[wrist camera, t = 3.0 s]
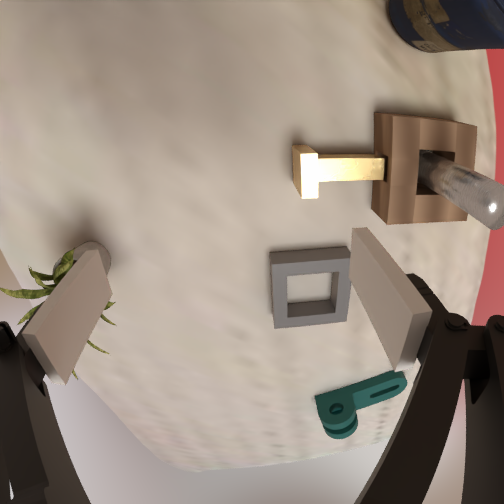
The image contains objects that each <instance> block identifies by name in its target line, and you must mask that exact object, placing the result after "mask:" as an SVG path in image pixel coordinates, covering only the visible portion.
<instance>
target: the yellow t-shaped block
mask: <svg viewBox="0 0 504 504" xmlns="http://www.w3.org/2000/svg"><path fill="white" fill-rule="evenodd" d="M292 158H293V183H294V185H295V187H296V189H297V191H298V192H299V194H300V196H301V198H302V199H303V198H318V181H346V180H383V179H384V158H382V157H380V156H378V155H376V154H324V155H318V153H316V152H315V151H314V150H312V149H311V148H310V147H309V146H307V145H292Z"/></svg>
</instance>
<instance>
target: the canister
mask: <svg viewBox="0 0 504 504" xmlns="http://www.w3.org/2000/svg"><path fill="white" fill-rule="evenodd" d="M389 13H390V17H391V20H392V23H393V25H394V27H395V28H396V30H397V31H398V33H399V34H400V35H401V37H402V38H403V39H404V40H405V41H406V42H408V43H409V44H410V45H412V46H413V47H415V48H417V49H419V50H421V51H425V52H429V53H437V52H446V51H458V50H475V49H504V0H390V1H389Z"/></svg>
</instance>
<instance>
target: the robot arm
mask: <svg viewBox="0 0 504 504" xmlns="http://www.w3.org/2000/svg"><path fill="white" fill-rule="evenodd" d="M349 279H350V281H351V283H352V284H353V286H354V288H355V290H356V292H357V294H358V296H359V298H360V300H361V302H362V304H363V306H364V308H365V310H366V312H367V314H368V316H369V318H370V320H371V322H372V324H373V326H374V328H375V331H376V333H377V335H378V337H379V339H380V341H381V343H382V345H383V347H384V350H385V352H386V354H387V356H388V358H389V361H390V363H391V365H392V367H393V369H394V372H398V371H403V370H407V369H411V368H413V366H414V363H415V361H416V358H418V360H419V362H420V364H421V366H420V369H419V371H418V373H417V376H416V378H415V380H414V383H413V384H414V385H413V387H412V390H411V392H410V395H409V397H408V400H407V402H406V405H405V407H404V409H403V412H402V414H401V416H400V419H399V421H398V423H397V425H396V427H395V430H394V432H393V434H392V436H391V438H390V440H389V442H388V444H387V446H386V448H385V450H384V452H383V454H382V456H381V458H380V460H379V462H378V464H377V465H376V467H375V469H374V471H373V473H372V475H371V476H370V478H369V480H368V481H367V483H366V485H365V487H364V489H363V490H362V492H361V493H360V495H359V497H358V498H357V500H356V501H355V503H354V504H422V502H423V500H424V498H425V496H426V493H427V491H428V489H429V486H430V484H431V481H432V479H433V477H434V474H435V472H436V469H437V466H438V463H439V461H440V458H441V455H442V452H443V449H444V446H445V443H446V440H447V437H448V434H449V431H450V427H451V424H452V420H453V417H454V413H455V409H456V405H457V401H458V397H459V393H460V389H461V384H462V380H463V379H464V382H465V399H466V457H465V473H464V484H463V493H462V502H461V504H504V316H501V315H493V316H491V317H490V318H489V319H488V321H487V324H486V326H473V325H470V324H469V322H468V321H467V320H466V319H465V318H464V317H463V316H461V315H458V314H455V313H449V312H448V311H447V310H446V308H445V307H444V306H443V304H442V303H441V302H440V300H439V299H438V298H437V297H436V295H435V294H433V291H432V290H431V289H430V288H429V286H428V285H427V284H426V283H425V282H424V280H423V279H421V278H420V277H418V276H417V275H415V274H414V273H412V274H405V273H404V272H403V271H402V269H401V268H400V267H399V266H398V264H397V263H396V262H395V261H394V259H393V258H392V257H391V256H390V254H389V253H388V252H387V251H386V249H385V248H384V247H383V246H382V245H381V243H380V242H379V241H378V240H377V239H376V237H375V236H374V235H373V234H372V233H371V231H370V230H369V229H368V228H367V227H364V228H352V242H351V256H350V267H349ZM112 294H113V293H112V291H111V288H110V285H109V282H108V279H107V276H106V273H105V270H104V267H103V264H102V261H101V257H100V254H99V251H98V250H88V251H85V253H84V254H83V255H82V256H81V257H80V258H79V260H78V261H77V262H76V263H75V264H74V265H73V267H72V268H71V269H70V270H69V271H68V273H67V274H66V275H65V276H64V278H63V279H62V280H61V281H60V283H59V284H58V285H57V286H56V288H55V289H54V290H53V291H52V293H51V294H50V295H49V296H48V298H47V299H46V300H45V301H44V302H43V303H42V304H40V305H39V306H38V307H37V309H36V310H35V311H34V313H33V315H31V317H30V318H29V321H27V322H26V323H25V325H24V326H23V328H22V329H21V330H20V332H19V333H18V335H17V336H16V337H15V335H14V333H13V331H12V330H11V328H10V326H9V324H8V323H7V322H5V321H3V322H0V504H91V503H90V501H89V499H88V497H87V495H86V493H85V491H84V489H83V487H82V485H81V482H80V480H79V478H78V476H77V473H76V471H75V468H74V466H73V464H72V461H71V459H70V456H69V454H68V451H67V448H66V446H65V443H64V440H63V438H62V435H61V432H60V429H59V426H58V423H57V420H56V417H55V414H54V410H53V407H52V404H51V400H50V396H49V393H48V389H47V386H46V384H45V382H44V381H43V378H44V376H45V374H46V375H47V376H48V377H49V379H50V380H51V382H52V383H55V384H62V385H66V384H67V382H68V379H69V377H70V375H71V373H72V371H73V369H74V367H75V365H76V363H77V361H78V359H79V357H80V354H81V352H82V350H83V348H84V346H85V345H86V343H87V341H88V339H89V337H90V335H91V333H92V331H93V329H94V327H95V325H96V323H97V321H98V320H99V318H100V316H101V314H102V312H103V310H104V309H105V307H106V305H107V303H108V301H109V300H110V298H111V296H112ZM9 479H10V481H9ZM10 483H11V487H12V491H13V495H14V497H13V499H12V500H11V497H10Z"/></svg>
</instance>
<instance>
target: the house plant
mask: <svg viewBox="0 0 504 504" xmlns="http://www.w3.org/2000/svg"><path fill="white" fill-rule="evenodd" d="M75 248H76V247H75ZM75 248H74V249H73V250H71V251H69V252H67V253H65V255H64V256H63V257H62V258H61V259H59V260H58V261H57V262H56V263H55V265H54V268H53V275H46V274H42V273H38V272H35V271H32V269H30V268H31V267H30V268H29V271H30V274H31V276H32V277H33V278H35V280H36V282H37V284H38V285H40V286H42V287H43V288H44V289H40V290H27V289H21V290H16V291H12V290H8V289H3V288H0V290H1V291H3V292H4V293H6V294H7V295H9V296H12V297H16V298H26V299H37V298H40V297H43V296H46V295H50V294H51V293H52V291H53V290H54V289H55V288H56V286H57V285H58V284H59V283H60V281H61V280H62V279H63V278H64V276H65V275H66V274H67V273H68V271H69V270H70V269H71V268H72V267H73V265H74V264H75V263H76V262H77V261H78V260H79V258H80V257H81V256H82V255H83V254H84V253H85V251H88V250H98V251H99V254H100V257H101V261H102V264H103V267H104V270H105V273H106V276H107V274H108V271H109V269H110V265H111V258H110V255H109V253H108V251H107V250H106V249H105V248H104V246H102V245H101V244H99V243H97V242H93V241H89V242H85V243H83V244H82V245H80V246H79V247H77V248H76V249H75ZM41 280H42V281H49V280H54V283H55V284H52V285H44V284H43V282H42V281H41ZM42 303H43V302H42ZM42 303H41V304H42ZM114 303H115V302H114ZM114 303H112V302H109V301H108V303H107V305H106V307H105V309H104V310H106V309H108V308H109V307H111V306H112V305H113V304H114ZM38 306H39V305H38ZM38 306H36V307H34V308H33V309H31V310H30V311H29V312H28V313H27V314H26V315H25V316H24V317H23V318H22V319H21V320H20V322H19V323H18V324H20V323H22V322H24V321H25V320H27V319H29V318H30V317H31V315H33V313H34V311H35V310H36V309H37V307H38ZM100 317H101V318H102V319H103V320H105V321H106V322H108V323H110V324H112V325H115V324H114V323H112V322H111V321H109V320H108V319H107V318H106V317H105V316H104V315H103V314H101V316H100ZM87 343H88V344H89V345H91V346H92V347H93V348H95V349H97V350H99V351H101V352H103V353H107V352H105V351H103V350H102V349H100V348H98V347H97V346H95V345H94V344H92V343H91V342H90V341H89V340H88V341H87ZM107 354H109V353H107ZM72 373H73V375H74V376H75V377H76V378H77V376H76V374H75V372H74V369H73V371H72ZM77 379H78V378H77Z"/></svg>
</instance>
